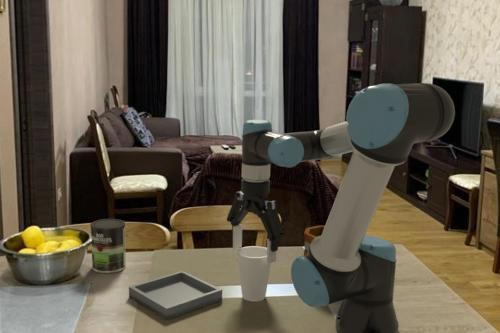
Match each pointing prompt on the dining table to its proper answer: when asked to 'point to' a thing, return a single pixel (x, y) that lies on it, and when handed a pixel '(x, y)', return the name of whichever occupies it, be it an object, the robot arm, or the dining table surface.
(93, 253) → the coffee can
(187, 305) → the tray
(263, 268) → the foam cup
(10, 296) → the dining table surface
